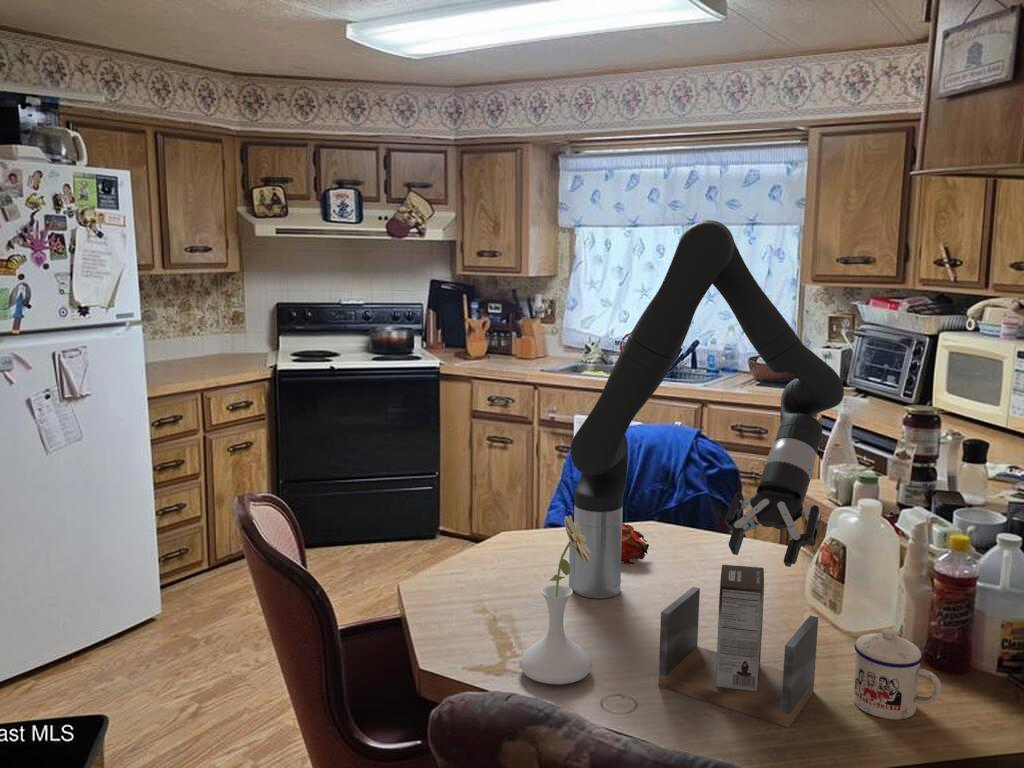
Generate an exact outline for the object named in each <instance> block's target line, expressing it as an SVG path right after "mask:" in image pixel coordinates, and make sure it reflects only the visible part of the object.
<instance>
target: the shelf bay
mask: <svg viewBox="0 0 1024 768" xmlns="http://www.w3.org/2000/svg"><path fill="white" fill-rule="evenodd" d="M700 590H701V588H699V587H696V586H692V587H691V588H689V589H688V590H687V591H686V592H685V593H683V594H682V595H681V596H679V597H678V598H677V599H675V600H674V601H673V602H672V603H670V604H669V605H668V606H666V607H665V608H664V609H663V610H662V611H661V612H660V626H659V627H660V632H659V655H658V656H659V658H658V660H659V663H658V687H661V688H664V689H665V690H670V691H673V692H676V693H679V694H682V695H686V696H689V697H692V698H695V699H698V700H701V701H704V702H708V703H711V704H713V705H716V704H717V706H719V707H720V706H721V707H722V708H727V709H730V710H733V711H736V712H740V713H742V714H746V715H749V716H752V717H754V718H758V719H761V720H764V721H767V722H769V723H773V724H776V725H780V726H783V727H786V728H790V727H791V725H792V724H793V722H794V721H795V720H796V718H797V716H798V715H799V713H800V712H801V711H802V709H803V708H804V706H805V705H806V703H807V702H808V700H809V699H810V698H811V696H812V695H813V693H814V689H815V675H816V674H815V673H816V660H817V659H816V658H817V647H818V646H817V645H818V632H819V631H818V629H819V627H818V626H819V616H814V615H812V614H811V615H810V614H809V616H808V617H807V619H806V620H804V622H803V623H802V625H801V626H800V627H799V628H798V629H797V630H796V632H795V633H794V634H793V635H792V636H791V638H789V640H788V641H787V642H786V643H785V645H784V654H783V655H784V657H783V659H784V660H783V669H782V670H781V669H778V668H775V667H771V666H768V665H764V664H761V663H760V671H759V686H758V691H757V692H756V691H748V690H740V689H732V688H724V687H717V686H716V666H717V651H715V650H712V649H708V648H705V647H701V646H698V642H699V641H698V639H699V619H700V618H699V617H700V616H699V615H700V593H701V592H700Z"/></svg>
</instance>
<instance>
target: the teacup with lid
mask: <svg viewBox="0 0 1024 768" xmlns="http://www.w3.org/2000/svg"><path fill="white" fill-rule="evenodd" d="M853 646H854V650H855V657H854V658H855V659H854V670H853V671H854V672H853V685H852V700H853V703H854V704H855V705H856V706H857V707H858V708H859V709H860V710H861V711H864V712H865V713H867V714H869V715H871V716H874V717H877V718H881V719H885V720H905V719H908V718H910V717H912V716H914V715H915V713H916V711H917V704H918V703H919V704H924V705H928V704H932V703H933V702H935V701H936V700H937V699H938V697H939V696H940V694H941V690H942V684H941V681H940V679H939V678H938V676H937V675H936V674H935V673H933V672H932V671H930V670H928V669H925V668H920V666H921V662H922V661H923V655H922V651H921V650H920V648H919V647H918V646H917V645H916V644H914V643H913V642H911V641H909V640H907V639H906V638H902V637H901V636H899V635H898V633H897V631H896V630H895V629H891V628H883V629H882V630H881V632H879V633H867V634H863V635H861V636H860V637H858V639H857V640H856V641H855V643H854V645H853ZM920 676H922V677H925V678H927V679H928V680H930V682H932V685H933V686H934V690H933V693H932V695H930V696H920V695H918V692H919V691H918V690H919V689H918V688H919V678H920Z"/></svg>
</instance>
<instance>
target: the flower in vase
mask: <svg viewBox="0 0 1024 768" xmlns="http://www.w3.org/2000/svg"><path fill="white" fill-rule="evenodd" d="M563 523H564V528H565V531H566V535H567V537H568V540H569V541H568V542H567V545H566V546H565V548H564V550H563V552H562V554H561V557H560V560H559V563H558V568H557V574H554V576H552V578H550V579H549V580H548V581H549V582H550V581H551V582H556V584H549V585H545V586H543V587H542V588H540V593H541V595H542V596H543V598H544V599H545V602H546V604H547V609H548V622H549V623H548V631H547V634H546V635H545V636H544V637H543V638H542V639H540V640H538V641H537V642H535V643H534V644H532V645H531V646H530V647H528V648H527V649H526V650H525V651H524V652H523V653H522V655H521V657H520V659H519V668H520V669H521V670H522V672H523V674H524V675H525V676H527V678H529V679H532V680H533V681H535V682H539V683H542V684H547V685H548V684H549V685H567V684H572V683H575V682H578V681H580V680H581V681H582V680H583V679H585V678H586V677H587V675H589V674H590V672H591V671H592V667H593V663H592V661H591V658H590V655H589V654H588V653H587V652H586V651H585V650H584V649H583V648H582V647H581V646H579V645H578V644H577V643H575V642H573V641H572V640H571V639H570V638H568V637H567V636H566V634H565V630H564V615H565V610H566V606H567V604H568V603H567V602H568V600H569V599H570V597H571V596H572V595H573V592H574V590H572V589H571V588H569V586H567V585H565V584H559V583H560V581H561V580H562V579H565V578H566V576H569V573H570V566H569V560H567V559H564V557H565V556H566V553H567V551H568V550H569V547H570V544H572V547H573V549H574V551H575V553H576V554H577V556H578V557H579V558H580V560H581V561H582V562H583V561H584V562H585V563H586V562H588V561H590V559H589V557H588V555H587V554H586V553H588V554H591V552H590V550H589V549H588V547H587V545H586V544H585V542H586V541H587V540H586V537H585V536H584V535H582V533H581V531H580V530H579V525H578V523H576V524H574V519H573V517H572V516H571V514H570V515H568V516H567V515H565V516H564V522H563ZM587 560H588V561H587ZM561 572H562V573H563V574H564V575H566V576H561V575H560V574H561Z"/></svg>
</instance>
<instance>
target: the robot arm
mask: <svg viewBox="0 0 1024 768" xmlns="http://www.w3.org/2000/svg"><path fill="white" fill-rule="evenodd" d="M712 285H713V286H714V288H715V289H716V290H717V291H718V292H719V294H720V295H721V296H722V299H724V300H725V302H726V304H728V306H729V309H730V310H731V312H732V313H733V315H734V316H735V318H736V321H737V322H738V323H739V325H740V327H741V328H740V329H742V330H743V332H744V334H745V335H746V337H747V339H748V341H749V342H750V344H751V345H752V346H753V349H754V350H755V351H756V352H757V354H758V355H759V357H760V358H761V359H762V360H763V362H764V364H765V365H766V366H767V367H768V368H769V370H770V371H772V373H774V374H786V373H787V374H791V375H793V376H794V377H795V378H793V380H791V381H790V382H789V383H787V384H786V386H785V388H784V389H783V391H782V393H781V397H780V416H779V417H780V418H779V419H780V420H779V421H780V425H779V428H778V429H777V430H778V431H777V433H776V437H775V439H774V442H773V445H772V447H771V448H770V450H769V452H768V453H769V454H768V455H767V459H766V461H765V464H764V468H763V470H762V473H761V476H760V479H759V482H758V485H757V488H756V492H755V494H754V495H753V496H752V497H750V496H747V495H743V493H742V491H736V492H735V494H734V496H733V497H732V500H731V503H730V505H729V508H728V510H727V512H726V514H725V516H724V522H725V524H726V526H727V528H728V529H729V530H731V531H732V532H731V535H730V538H729V542H728V548H729V549H730V551H731V554H732V555H735V556H738V555H739V553H740V550H741V547H742V543H743V541H744V537H745V534H746V533H747V532H749V531H750V530H754V529H756V528H758V526H760V525H761V526H762V527H765V528H774V529H776V530H780V531H782V530H783V529H787V532H788V533H789V536H790V537H791V539H789V541H788V544H787V548H786V549H785V550H786V551H785V555H784V557H783V564H784V566H785V567H788V568H791V567H792V565H795V564H796V563H797V561H798V558H799V554H800V551H801V548H802V547H804V546H809V547H813V546H815V545H816V543H817V537H818V533H819V529H820V524H821V519H822V514H821V510H820V507H819V506H818V505H815V504H814V505H811V507H809V506H804V502H805V499H806V495H807V492H808V490H809V486H810V483H811V480H812V478H813V476H814V475H813V474H814V469H815V463H816V457H817V455H818V451H819V448H820V445H821V441H822V437H823V427H822V424H821V423H820V421H819V420H818V419H816V418H815V417H814V416H815V415H817V414H820V413H822V412H825V411H827V410H831V409H833V408H835V407H837V406H838V405H840V404H841V402H842V401H843V399H844V395H845V390H844V384H843V382H842V379H841V377H840V376H839V374H838V373H837V372H836V371H835V370H834V369H833V368H832V367H831V366H830V365H829V364H828V363H827V362H825V361H824V360H823V359H821V358H820V357H819V356H818V355H817V354H816V353H815V352H814V351H812V350H811V349H809V348H808V347H806V346H805V345H804V344H803V342H802V341H801V339H800V338H799V337H798V335H797V334H796V333H795V331H794V330H793V328H792V327H791V326H790V324H789V323H788V322H787V320H786V319H785V317H783V315H782V313H781V312H780V311H779V310H778V308H777V307H776V306H775V305H774V304H773V302H772V301H771V299H770V298H769V297H768V295H767V294H766V293H765V292H764V291H763V289H762V288H761V286H760V285H759V283H758V282H757V280H756V279H755V278H754V276H753V275H752V273H751V271H750V270H749V268H748V266H747V264H746V262H745V261H744V258H743V257H742V255H741V253H740V250H739V249H738V247H737V245H736V242H735V239H734V236H733V234H732V232H731V230H730V229H729V228H728V227H727V226H726V225H724V224H723V223H721V222H719V221H717V220H711V219H710V220H708V219H706V220H701V221H699V222H695V223H693V224H692V225H690V226H688V227H687V229H685V231H684V232H683V233H682V234H681V236H680V239H679V240H678V243H677V246H676V250H675V252H674V254H673V257H672V260H671V262H670V265H669V267H668V269H667V272H666V274H665V276H664V279H663V281H662V283H661V285H660V287H659V288H658V290H657V292H656V294H655V295H654V296H653V298H652V299H651V301H650V302H649V304H648V305H647V306H646V308H645V309H644V311H643V312H642V314H641V316H640V317H639V319H638V321H637V322H636V324H635V325H634V327H633V329H632V331H631V332H630V334H629V336H628V338H627V340H626V342H625V344H623V345H624V346H623V347H622V349H621V351H620V353H619V355H618V358H617V360H616V362H615V364H614V365H613V368H612V369H611V372H610V374H609V376H608V378H607V381H606V382H605V385H604V388H603V390H602V392H601V394H600V396H599V397H598V399H597V402H596V403H595V405H594V407H593V408H592V409H591V411H590V413H588V416H587V417H586V418H585V420H584V421H583V422H582V425H581V426H580V427H579V429H578V430H577V432H576V433H575V434H574V436H573V437H572V441H571V442H570V443H571V444H570V447H569V448H570V450H569V451H570V453H569V454H570V460H571V463H572V464H573V467H575V469H576V470H577V471H578V472H580V473H581V474H580V479H579V481H578V484H577V486H576V489H575V491H574V504H573V505H574V513H573V515H574V517H573V523H574V524H576V523H578V525H579V530H580V531H581V533H582V535H584V536H585V537H586V540H587V541H586V542H585V544H586V545H587V547H588V549H589V550H590V552H591V554H588V553H586V554H587V555H588V557H589V559H590V561H588V560H587V561H588V562H586V563H585V562H584V561H583V562H582V561H581V560H580V558H579V557H578V556H577V554H576V553H575V551H574V549H573V547H572V544H570V546H569V547H568V550H569V556H568V557H569V560H568V563H569V566H570V573H569V574H568V587H569V588H571V589H572V590H573V592H574V593H576V594H577V595H579V596H581V597H584V598H585V597H586V598H589V599H608V598H609V599H610V598H613V597H615V596H617V595H618V594H620V592H621V584H622V582H621V581H622V579H621V577H622V576H621V575H622V562H621V548H622V523H623V506H624V505H623V504H624V503H623V501H624V495H625V492H626V489H627V478H628V464H629V463H628V461H629V458H628V457H629V446H628V445H629V443H628V438H627V436H626V433H627V431H628V429H629V427H630V425H631V423H632V422H633V419H635V417H636V415H637V414H638V413H639V412H640V411H641V409H642V408H643V407H644V405H645V404H646V403H647V402H648V401H649V399H650V398H651V397H652V396H653V394H654V393H655V392H656V391H657V389H658V388H659V387H660V385H661V384H662V382H663V381H664V380H665V377H666V376H667V375H668V373H669V371H670V370H671V368H672V366H673V364H674V362H675V361H676V359H677V358H678V355H679V352H680V350H682V349H681V348H682V347H683V344H684V342H685V340H686V338H687V335H688V332H689V329H690V327H691V325H692V321H693V319H694V316H695V313H696V311H697V309H698V308H699V305H700V303H701V302H702V300H703V299H704V297H705V295H706V293H708V291H709V289H710V288H711V286H712ZM748 506H751V509H749V510H748V511H746V512H745V513H744V515H743V516H742V517H741V518H740V516H741V513H742V511H743V510H746V508H747V507H748ZM802 516H804V517H805V520H806V521H807V524H806V528H805V533H800V532H799V531H798V528H797V526H796V524H795V522H796V521H797V520H799V519H800V518H801V517H802Z"/></svg>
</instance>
